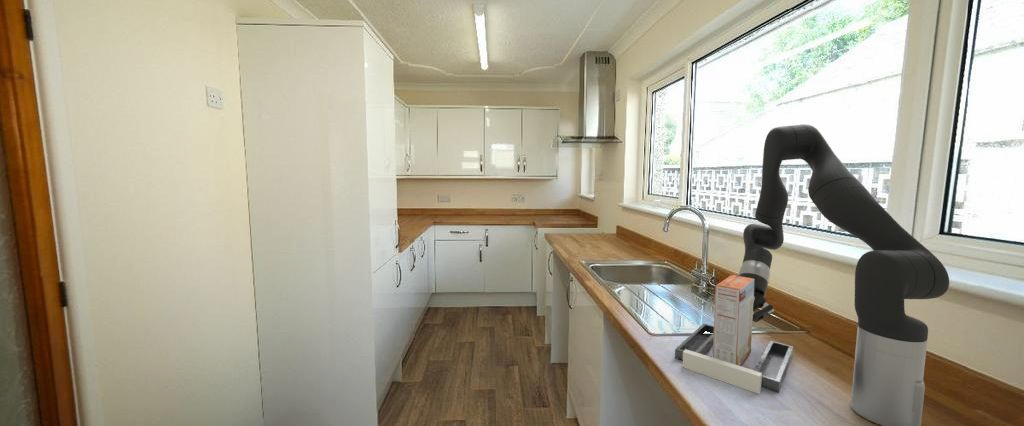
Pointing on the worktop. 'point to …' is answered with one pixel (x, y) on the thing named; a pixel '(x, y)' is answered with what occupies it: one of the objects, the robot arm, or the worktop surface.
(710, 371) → the bar
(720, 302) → the cracker box
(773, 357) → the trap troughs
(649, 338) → the worktop surface
